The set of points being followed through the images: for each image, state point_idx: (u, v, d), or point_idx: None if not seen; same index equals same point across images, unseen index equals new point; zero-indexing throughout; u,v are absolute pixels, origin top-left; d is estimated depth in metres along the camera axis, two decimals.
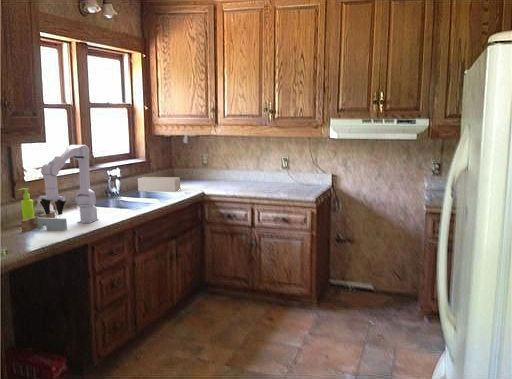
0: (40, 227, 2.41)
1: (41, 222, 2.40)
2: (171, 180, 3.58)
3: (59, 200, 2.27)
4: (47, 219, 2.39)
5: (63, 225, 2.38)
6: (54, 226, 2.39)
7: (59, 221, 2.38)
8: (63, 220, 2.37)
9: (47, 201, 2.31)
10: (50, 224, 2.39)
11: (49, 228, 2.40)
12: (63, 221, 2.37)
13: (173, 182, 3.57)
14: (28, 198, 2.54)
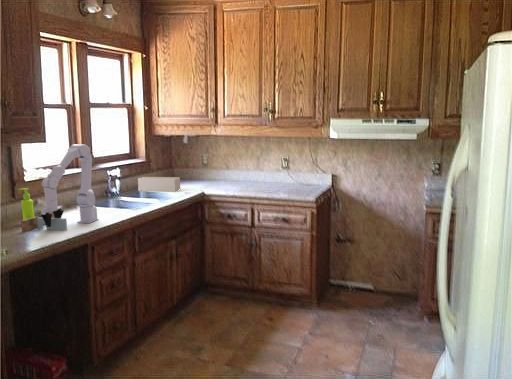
0: (40, 227, 2.41)
1: (41, 222, 2.40)
2: (171, 180, 3.57)
3: None
4: None
5: (63, 225, 2.38)
6: (54, 226, 2.39)
7: (59, 221, 2.38)
8: (63, 220, 2.37)
9: (57, 212, 2.42)
10: None
11: (49, 228, 2.40)
12: (63, 221, 2.37)
13: (173, 182, 3.57)
14: (28, 198, 2.54)
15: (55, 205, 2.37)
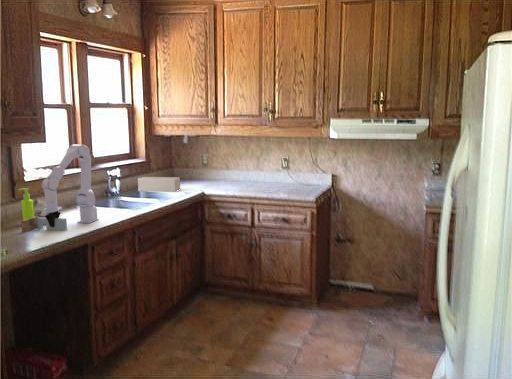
0: (40, 227, 2.41)
1: (41, 222, 2.40)
2: (171, 180, 3.57)
3: None
4: None
5: (63, 225, 2.38)
6: (54, 226, 2.39)
7: (59, 221, 2.38)
8: (63, 220, 2.37)
9: (54, 214, 2.40)
10: None
11: (49, 228, 2.40)
12: (63, 221, 2.37)
13: (173, 182, 3.57)
14: (28, 198, 2.54)
15: (55, 206, 2.37)
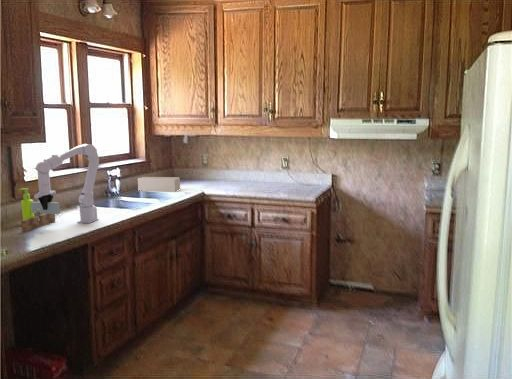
0: (33, 211, 2.45)
1: (34, 206, 2.45)
2: (171, 180, 3.57)
3: None
4: (40, 203, 2.43)
5: (56, 209, 2.42)
6: (47, 210, 2.43)
7: (52, 205, 2.42)
8: (56, 204, 2.41)
9: (47, 197, 2.44)
10: None
11: (42, 212, 2.44)
12: (56, 205, 2.41)
13: (173, 182, 3.57)
14: (28, 198, 2.54)
15: (48, 189, 2.41)
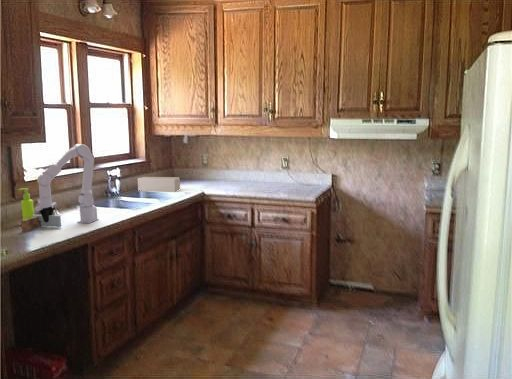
0: None
1: None
2: (171, 180, 3.57)
3: None
4: (41, 216, 2.44)
5: (57, 222, 2.43)
6: (49, 223, 2.44)
7: (53, 218, 2.43)
8: (57, 217, 2.42)
9: (48, 209, 2.45)
10: None
11: (43, 225, 2.45)
12: (57, 218, 2.42)
13: (173, 182, 3.57)
14: (28, 198, 2.54)
15: (49, 202, 2.42)
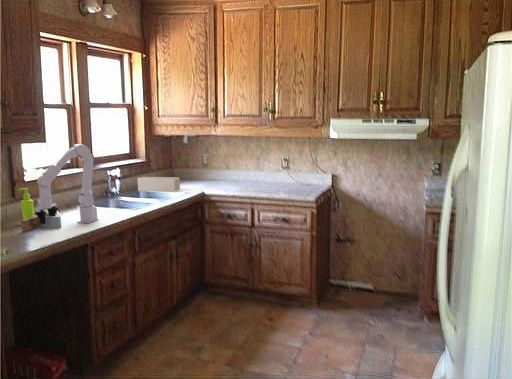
0: None
1: None
2: (170, 180, 3.57)
3: None
4: None
5: (57, 223, 2.43)
6: (49, 224, 2.44)
7: (53, 219, 2.43)
8: (57, 218, 2.42)
9: (51, 209, 2.48)
10: None
11: (44, 226, 2.45)
12: (57, 219, 2.43)
13: (172, 182, 3.57)
14: (28, 198, 2.54)
15: (49, 203, 2.42)
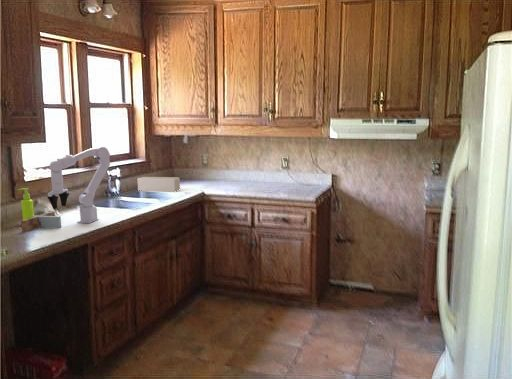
0: None
1: None
2: (170, 180, 3.57)
3: None
4: (42, 217, 2.45)
5: (57, 223, 2.43)
6: (49, 224, 2.44)
7: (53, 219, 2.43)
8: (57, 218, 2.42)
9: (63, 194, 2.52)
10: (44, 222, 2.45)
11: (44, 226, 2.45)
12: (57, 219, 2.43)
13: (172, 182, 3.57)
14: (28, 198, 2.54)
15: (61, 188, 2.46)
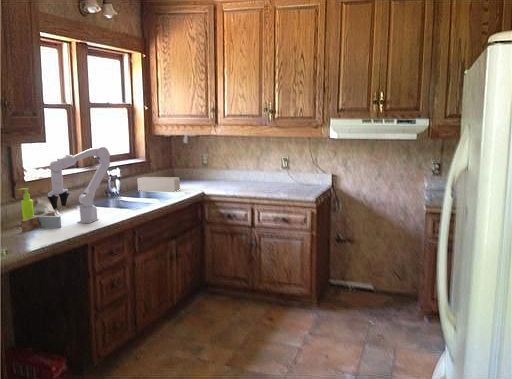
0: None
1: None
2: (170, 180, 3.57)
3: None
4: (42, 217, 2.45)
5: (57, 223, 2.43)
6: (49, 224, 2.44)
7: (53, 219, 2.43)
8: (57, 218, 2.42)
9: (63, 194, 2.52)
10: (44, 222, 2.45)
11: (44, 226, 2.45)
12: (57, 219, 2.43)
13: (172, 182, 3.57)
14: (28, 198, 2.54)
15: (61, 188, 2.46)
